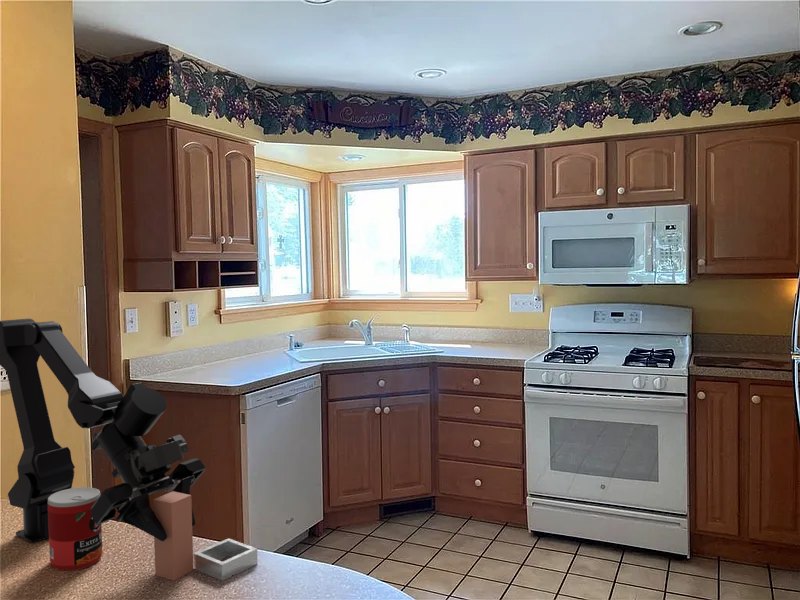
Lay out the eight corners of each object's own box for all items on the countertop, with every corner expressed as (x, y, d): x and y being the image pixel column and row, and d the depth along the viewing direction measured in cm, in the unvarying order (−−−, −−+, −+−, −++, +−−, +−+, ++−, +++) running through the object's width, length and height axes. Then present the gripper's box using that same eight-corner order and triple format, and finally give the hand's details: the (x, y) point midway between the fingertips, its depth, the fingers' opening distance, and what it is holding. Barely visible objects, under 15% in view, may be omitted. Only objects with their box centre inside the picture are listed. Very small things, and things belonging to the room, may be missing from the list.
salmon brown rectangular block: (155, 574, 102) (153, 499, 101) (175, 564, 106) (173, 491, 105) (173, 580, 100) (171, 503, 100) (193, 569, 104) (191, 495, 103)
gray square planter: (193, 568, 104) (193, 553, 104) (229, 552, 110) (228, 538, 109) (222, 580, 100) (221, 564, 100) (257, 563, 105) (257, 548, 105)
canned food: (82, 573, 103) (80, 504, 102) (38, 569, 104) (35, 501, 104) (113, 552, 110) (111, 488, 110) (71, 548, 112) (69, 485, 111)
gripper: (100, 436, 95) (156, 524, 91) (196, 410, 112) (247, 484, 107) (68, 481, 99) (119, 568, 95) (165, 450, 116) (213, 523, 111)
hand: (179, 532), depth 102 cm, fingers open, 5 cm apart
